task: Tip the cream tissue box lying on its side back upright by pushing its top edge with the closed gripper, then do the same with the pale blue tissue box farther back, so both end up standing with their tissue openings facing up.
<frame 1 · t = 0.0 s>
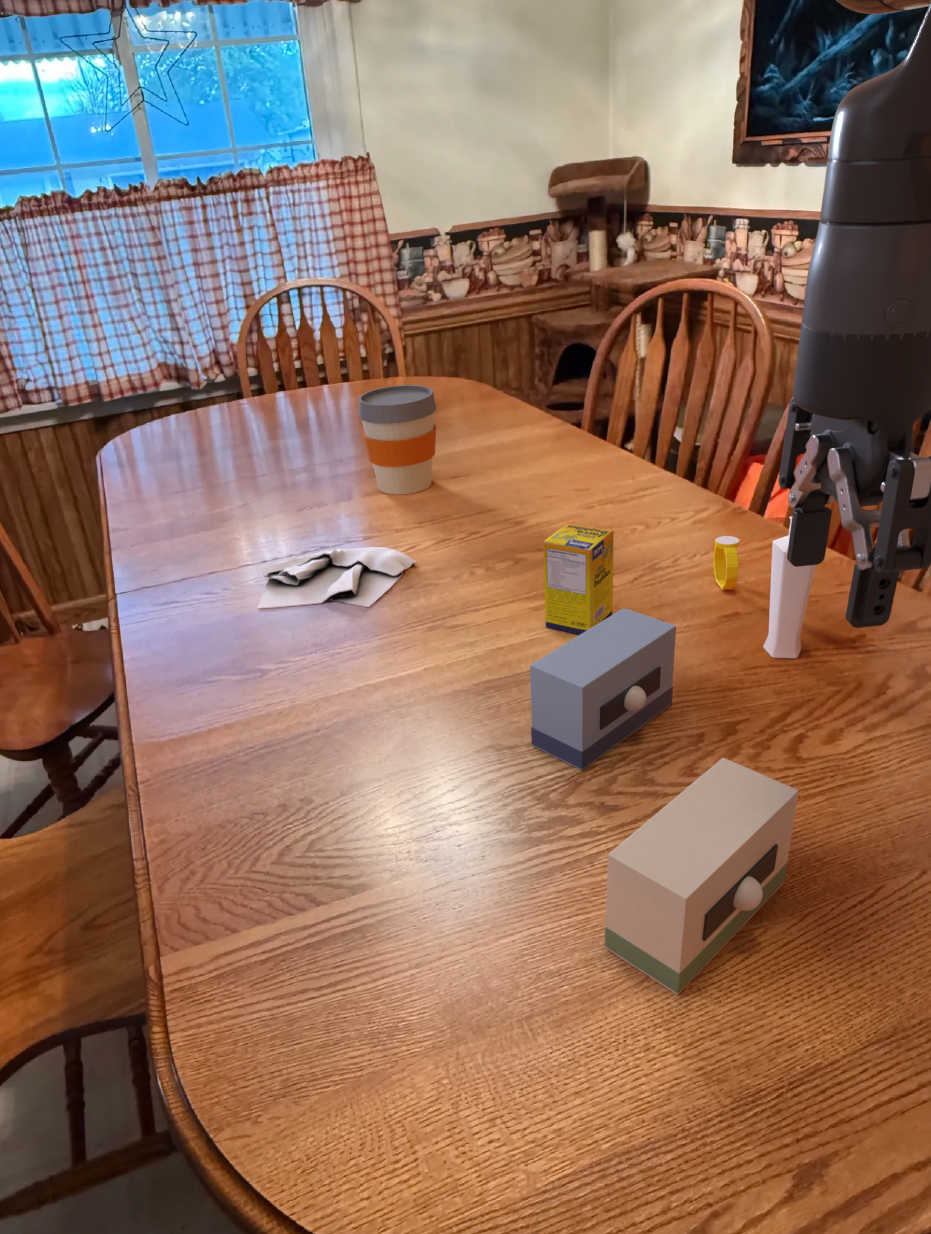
hand: (833, 591, 55), 24 cm above the table, tool pointing down, fingers open, 8 cm apart
reusable coffee cup: (405, 486, 151), on the table
cloth: (329, 580, 122), on the table
blue tissue box: (603, 725, 87), on the table
supplement box: (578, 623, 105), on the table
perfume bottle: (781, 652, 96), on the table
cream tissue box: (697, 915, 66), on the table
watch: (723, 586, 110), on the table
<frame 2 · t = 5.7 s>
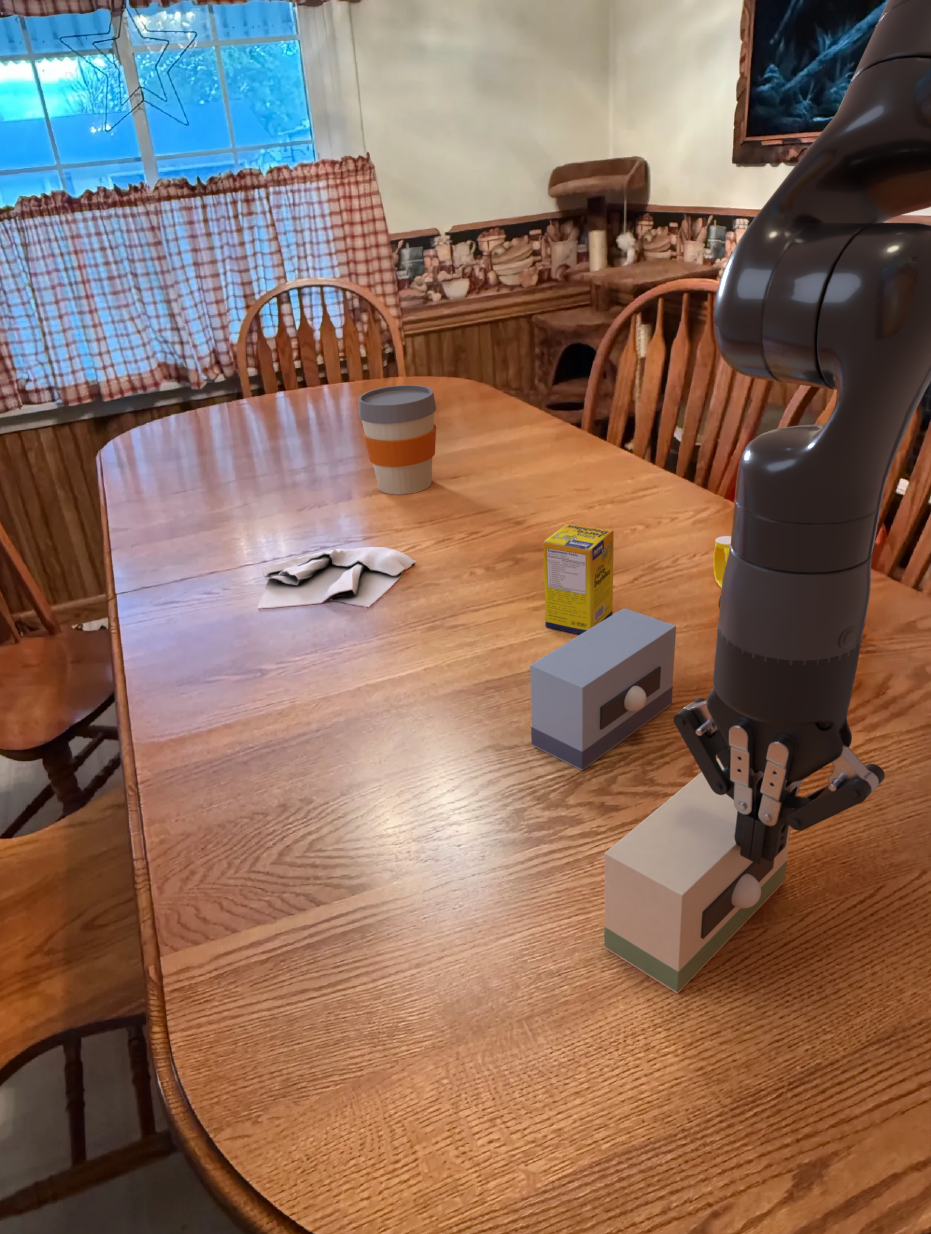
hand: (757, 854, 59), 8 cm above the table, tool pointing down, fingers closed
cream tissue box: (697, 914, 66), on the table, touching gripper
everything else where it was.
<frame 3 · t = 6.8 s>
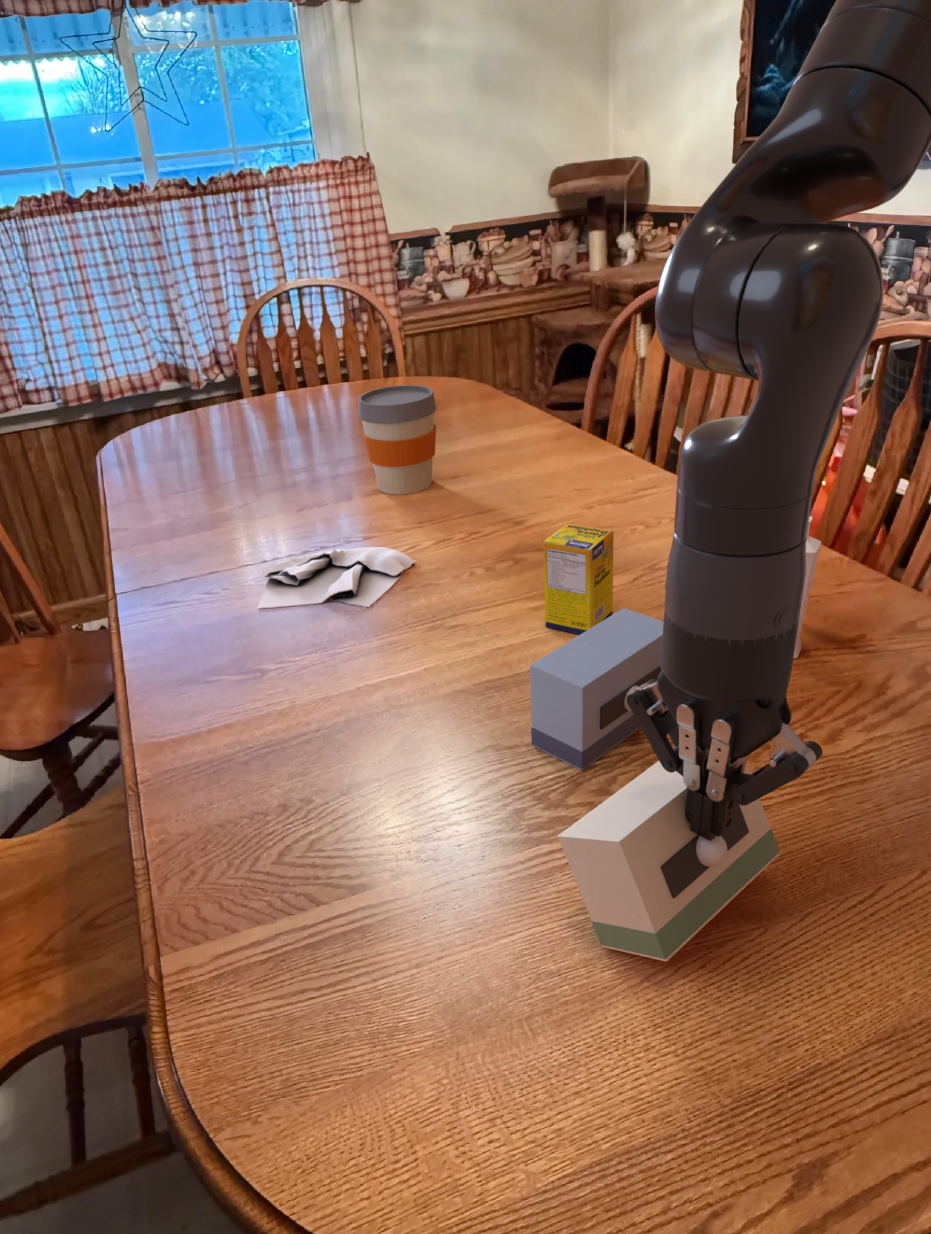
hand: (707, 830, 61), 8 cm above the table, tool pointing down, fingers closed
cream tissue box: (692, 900, 65), point 1 cm above the table, tilted 28°
everything else where it was.
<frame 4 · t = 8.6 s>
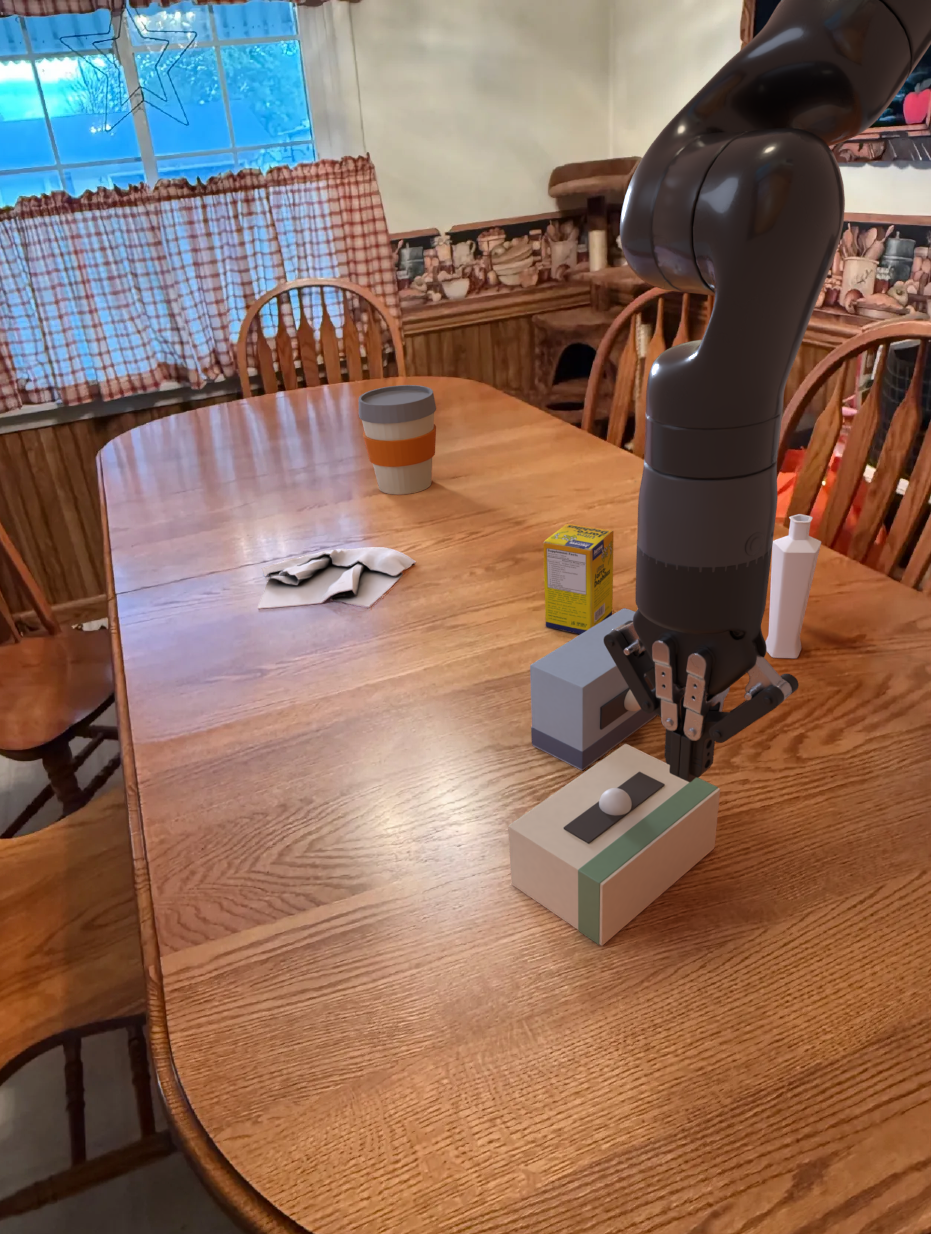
hand: (687, 772, 61), 12 cm above the table, tool pointing down, fingers closed
cream tissue box: (663, 865, 66), point 3 cm above the table, tilted 90°
everything else where it was.
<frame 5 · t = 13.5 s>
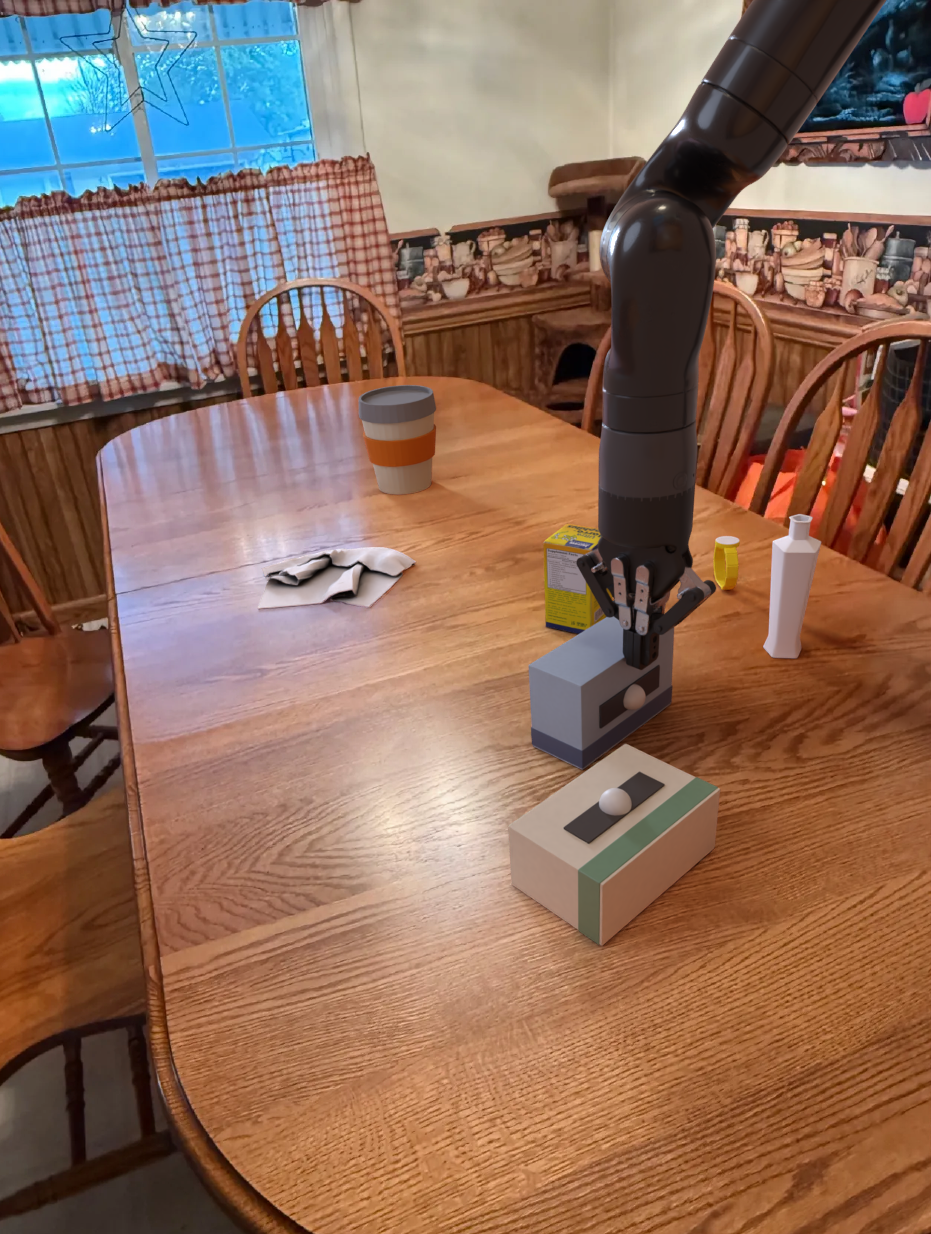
hand: (639, 664, 80), 8 cm above the table, tool pointing down, fingers closed
blue tissue box: (603, 724, 87), on the table, touching gripper
everything else where it was.
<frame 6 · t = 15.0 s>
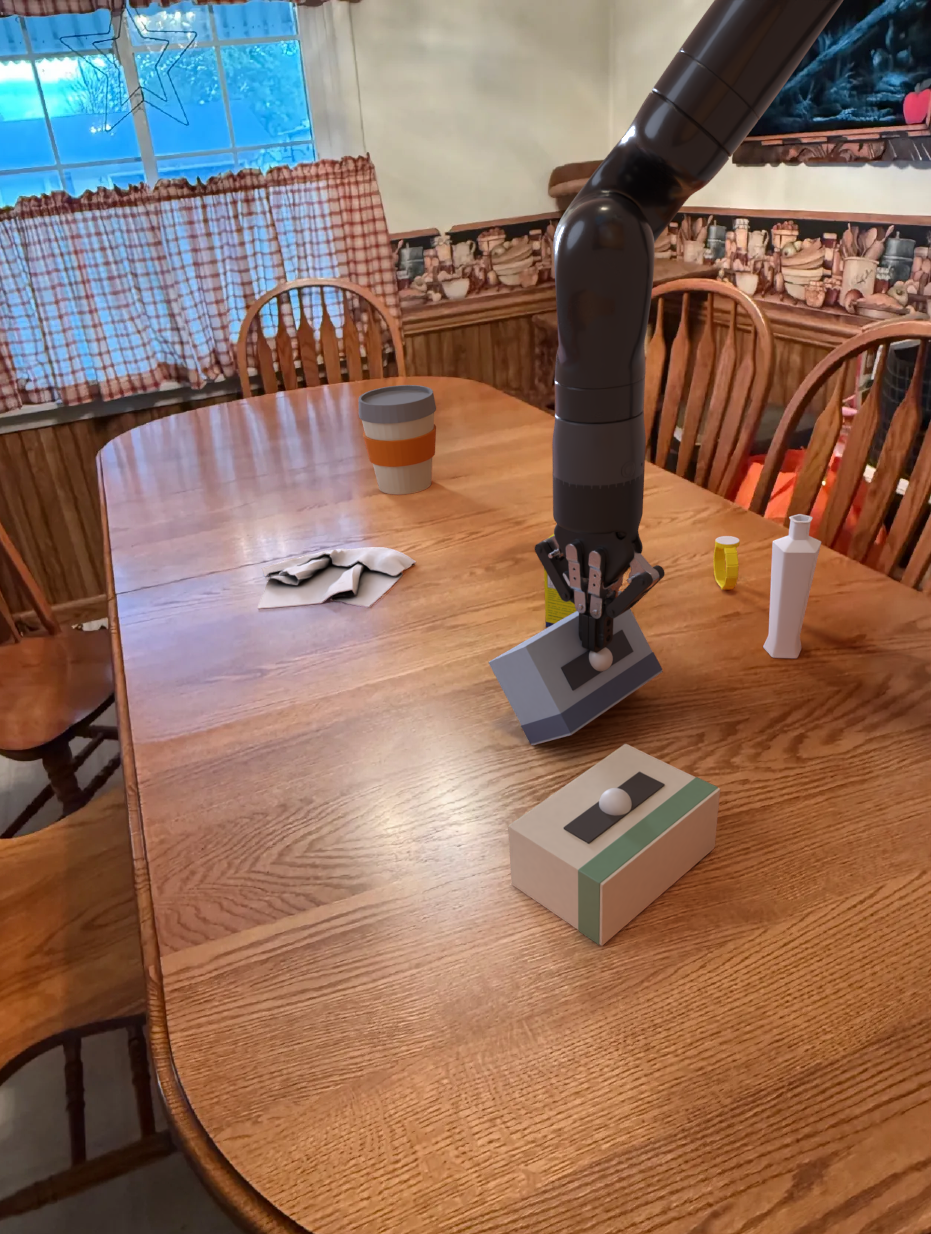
hand: (595, 646, 83), 8 cm above the table, tool pointing down, fingers closed
blue tissue box: (598, 708, 87), point 2 cm above the table, tilted 36°, touching gripper
everything else where it was.
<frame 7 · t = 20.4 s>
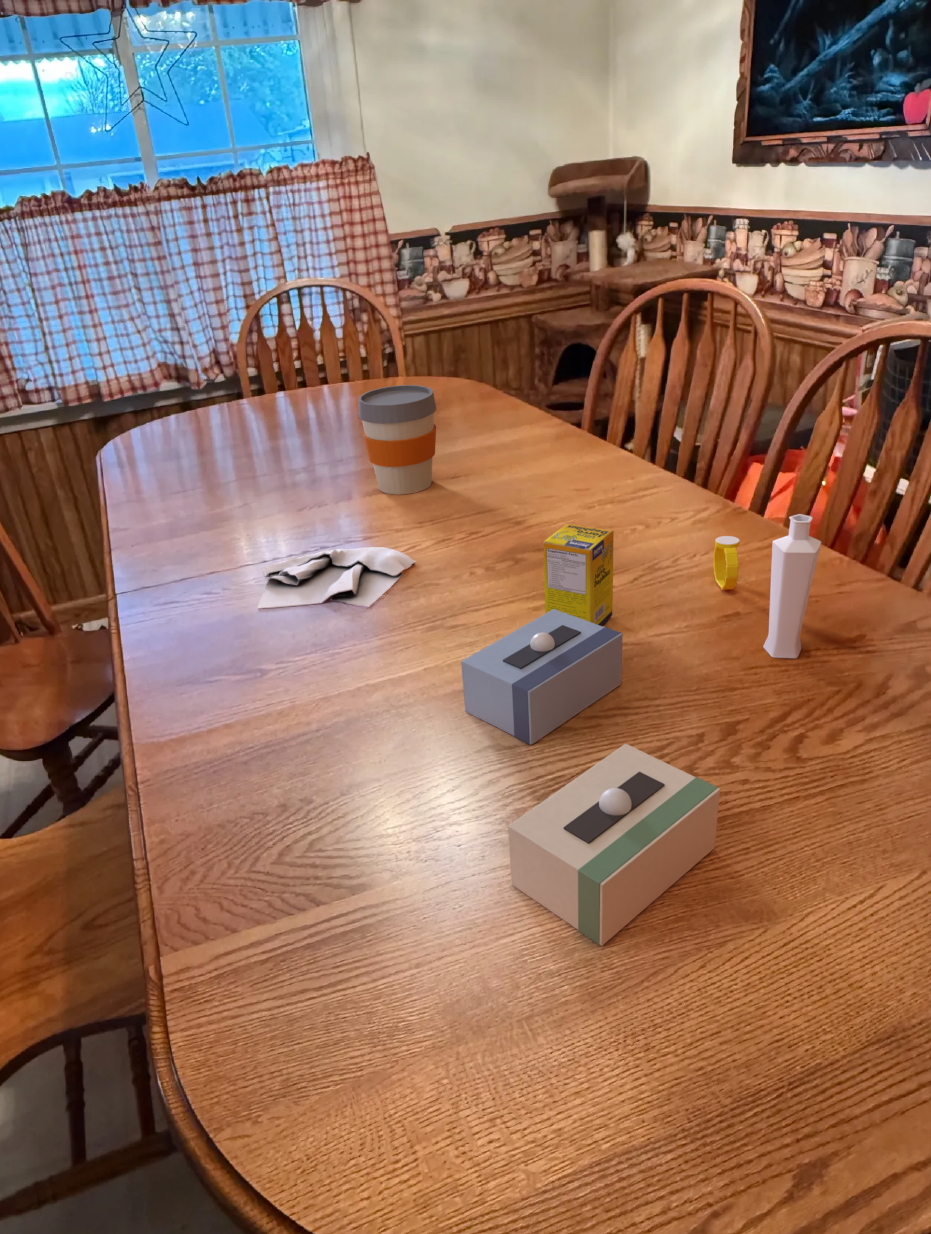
blue tissue box: (578, 687, 88), point 3 cm above the table, tilted 90°
everything else where it was.
at the end: cream tissue box inside the target area (0.1 cm from its centre), point 3.1 cm above the table; blue tissue box inside the target area (0.0 cm from its centre), point 3.1 cm above the table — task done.
